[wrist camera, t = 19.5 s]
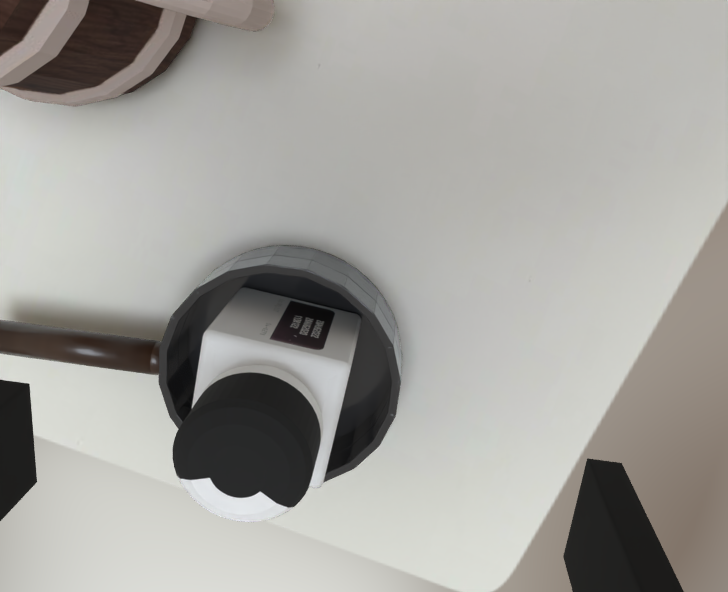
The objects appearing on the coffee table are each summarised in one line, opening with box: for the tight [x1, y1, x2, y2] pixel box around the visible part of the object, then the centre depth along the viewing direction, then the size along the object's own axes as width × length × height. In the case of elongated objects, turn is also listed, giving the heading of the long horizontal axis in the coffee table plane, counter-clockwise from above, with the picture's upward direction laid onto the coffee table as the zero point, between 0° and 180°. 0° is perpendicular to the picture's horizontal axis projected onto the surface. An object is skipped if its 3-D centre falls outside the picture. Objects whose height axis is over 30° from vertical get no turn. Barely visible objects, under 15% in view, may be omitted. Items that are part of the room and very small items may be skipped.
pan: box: [159, 245, 402, 482], centre depth 41 cm, size 14×14×4 cm
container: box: [173, 288, 361, 522], centre depth 36 cm, size 8×8×13 cm
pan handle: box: [0, 320, 161, 375], centre depth 40 cm, size 12×2×2 cm, turn 84°
